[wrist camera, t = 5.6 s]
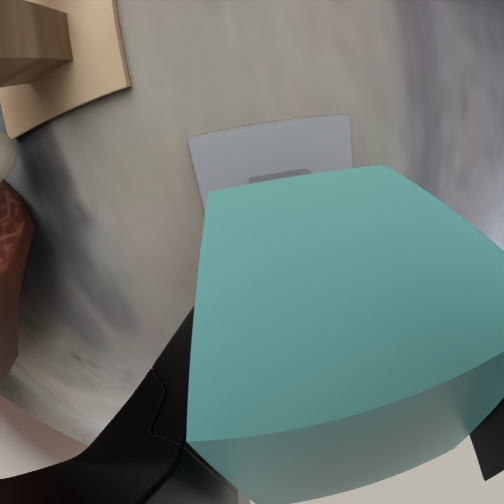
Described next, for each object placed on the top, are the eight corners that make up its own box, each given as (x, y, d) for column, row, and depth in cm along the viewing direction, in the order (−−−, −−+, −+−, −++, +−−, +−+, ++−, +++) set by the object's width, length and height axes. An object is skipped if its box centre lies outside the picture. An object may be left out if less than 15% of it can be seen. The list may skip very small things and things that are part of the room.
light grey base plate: (344, 114, 12) (428, 143, 7) (349, 245, 16) (403, 327, 10) (189, 137, 12) (159, 181, 7) (221, 269, 16) (223, 367, 10)
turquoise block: (384, 164, 8) (562, 310, 2) (376, 298, 11) (453, 448, 5) (208, 191, 8) (185, 441, 2) (242, 326, 11) (260, 507, 5)
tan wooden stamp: (111, -38, 7) (47, -91, 1) (130, 86, 10) (56, 92, 5) (-2, 27, 7) (-86, 28, 1) (15, 138, 11) (-71, 182, 5)
